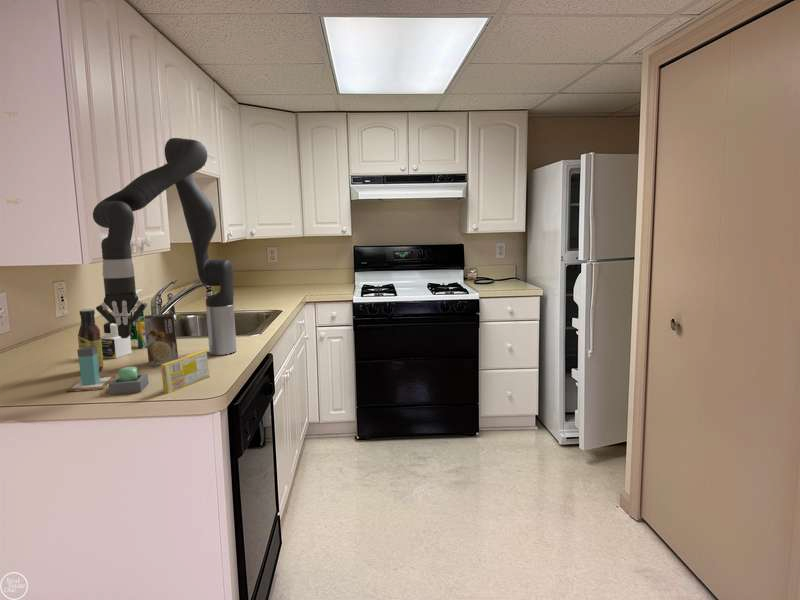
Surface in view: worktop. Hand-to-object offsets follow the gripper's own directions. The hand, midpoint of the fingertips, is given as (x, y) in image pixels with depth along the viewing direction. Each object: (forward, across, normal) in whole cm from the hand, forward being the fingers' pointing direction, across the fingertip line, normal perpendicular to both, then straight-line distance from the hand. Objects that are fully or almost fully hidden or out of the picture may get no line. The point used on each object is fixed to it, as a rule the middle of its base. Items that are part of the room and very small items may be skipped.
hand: (124, 337), depth 146 cm
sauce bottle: (+15, +17, -23) cm, 32 cm away
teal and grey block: (+14, +12, -6) cm, 20 cm away
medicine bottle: (+15, +16, -43) cm, 48 cm away
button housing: (+15, 0, 0) cm, 15 cm away
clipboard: (+15, +12, -7) cm, 20 cm away
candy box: (+15, -15, 0) cm, 21 cm away
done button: (+13, 0, 0) cm, 13 cm away
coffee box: (+15, -3, -28) cm, 32 cm away
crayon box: (+15, +8, -55) cm, 58 cm away
